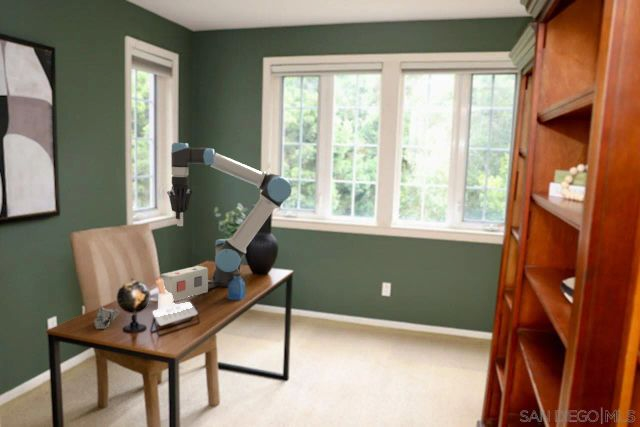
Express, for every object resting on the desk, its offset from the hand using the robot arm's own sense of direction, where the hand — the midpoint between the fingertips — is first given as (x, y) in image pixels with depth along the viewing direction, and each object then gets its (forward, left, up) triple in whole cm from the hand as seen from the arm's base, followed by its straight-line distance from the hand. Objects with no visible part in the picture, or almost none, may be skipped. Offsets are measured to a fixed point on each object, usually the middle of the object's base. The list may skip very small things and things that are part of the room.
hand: (179, 225), depth 220 cm
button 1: (0, +8, -28) cm, 29 cm away
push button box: (+1, +7, -32) cm, 33 cm away
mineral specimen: (+46, -4, -33) cm, 57 cm away
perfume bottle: (-2, +29, -33) cm, 44 cm away
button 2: (+10, +5, -28) cm, 30 cm away
